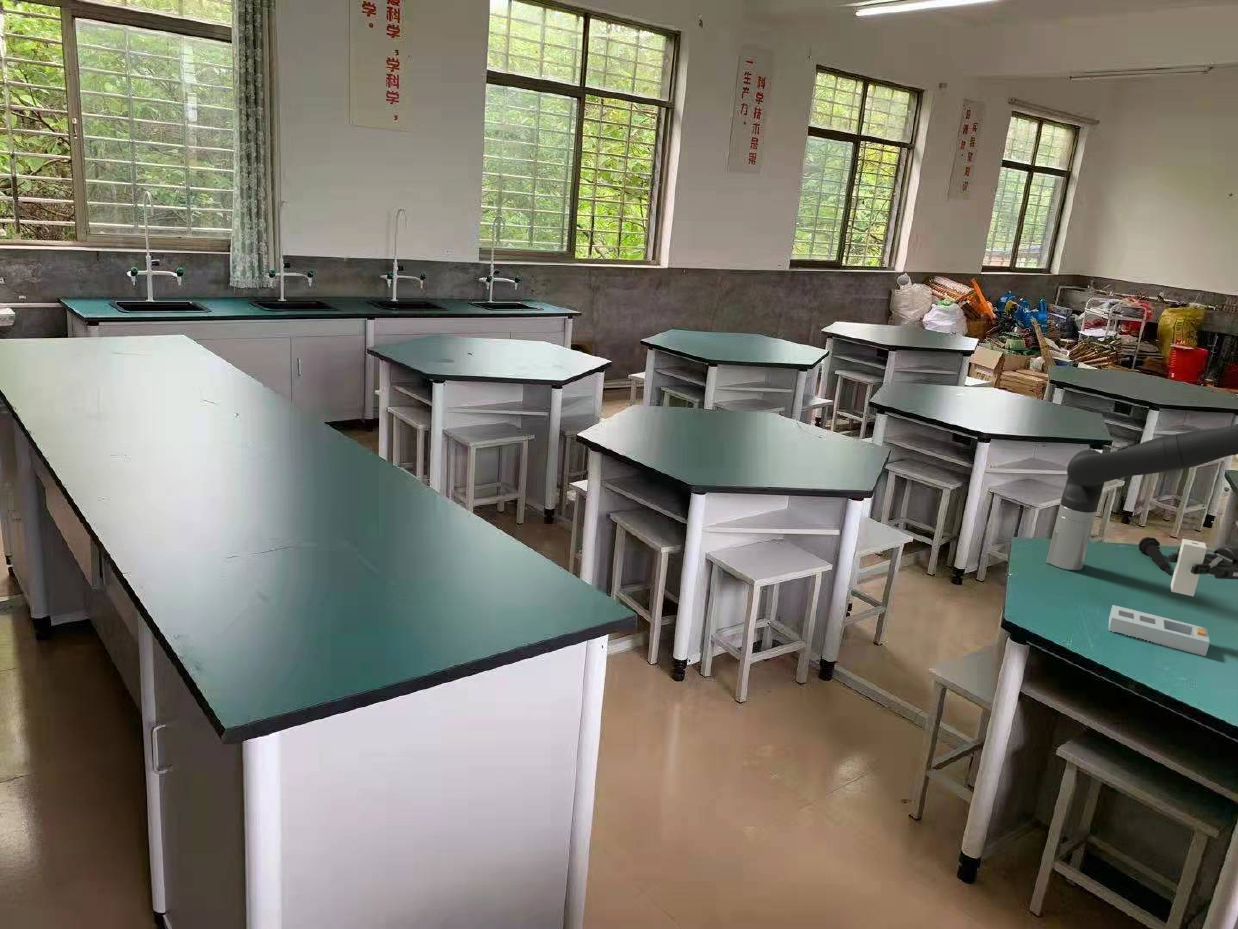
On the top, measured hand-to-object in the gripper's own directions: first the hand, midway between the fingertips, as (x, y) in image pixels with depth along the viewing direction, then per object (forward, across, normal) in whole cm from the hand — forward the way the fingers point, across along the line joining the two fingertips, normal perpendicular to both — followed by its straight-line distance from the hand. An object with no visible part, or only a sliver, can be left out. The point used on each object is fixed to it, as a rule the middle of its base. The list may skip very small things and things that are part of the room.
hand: (1181, 563), depth 214 cm
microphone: (-37, -43, +19) cm, 60 cm away
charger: (-2, 0, +7) cm, 7 cm away
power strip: (+3, +2, +18) cm, 18 cm away
